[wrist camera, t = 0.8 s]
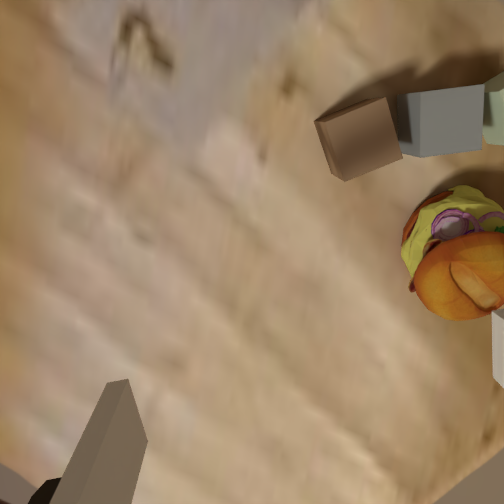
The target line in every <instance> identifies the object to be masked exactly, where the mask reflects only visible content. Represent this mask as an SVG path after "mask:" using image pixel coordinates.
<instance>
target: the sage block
mask: <svg viewBox="0 0 504 504" xmlns="http://www.w3.org/2000/svg"><path fill="white" fill-rule="evenodd" d="M484 84H485V87H484V108H483V129H482V133H483V136H484V138H485V140H486V143H487V144H495V145H504V71H503V72H502V73H500V74H498V75H497V76H495V77H493V78H492V79H490V80H489V81H487V82H485V83H484Z"/></svg>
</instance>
